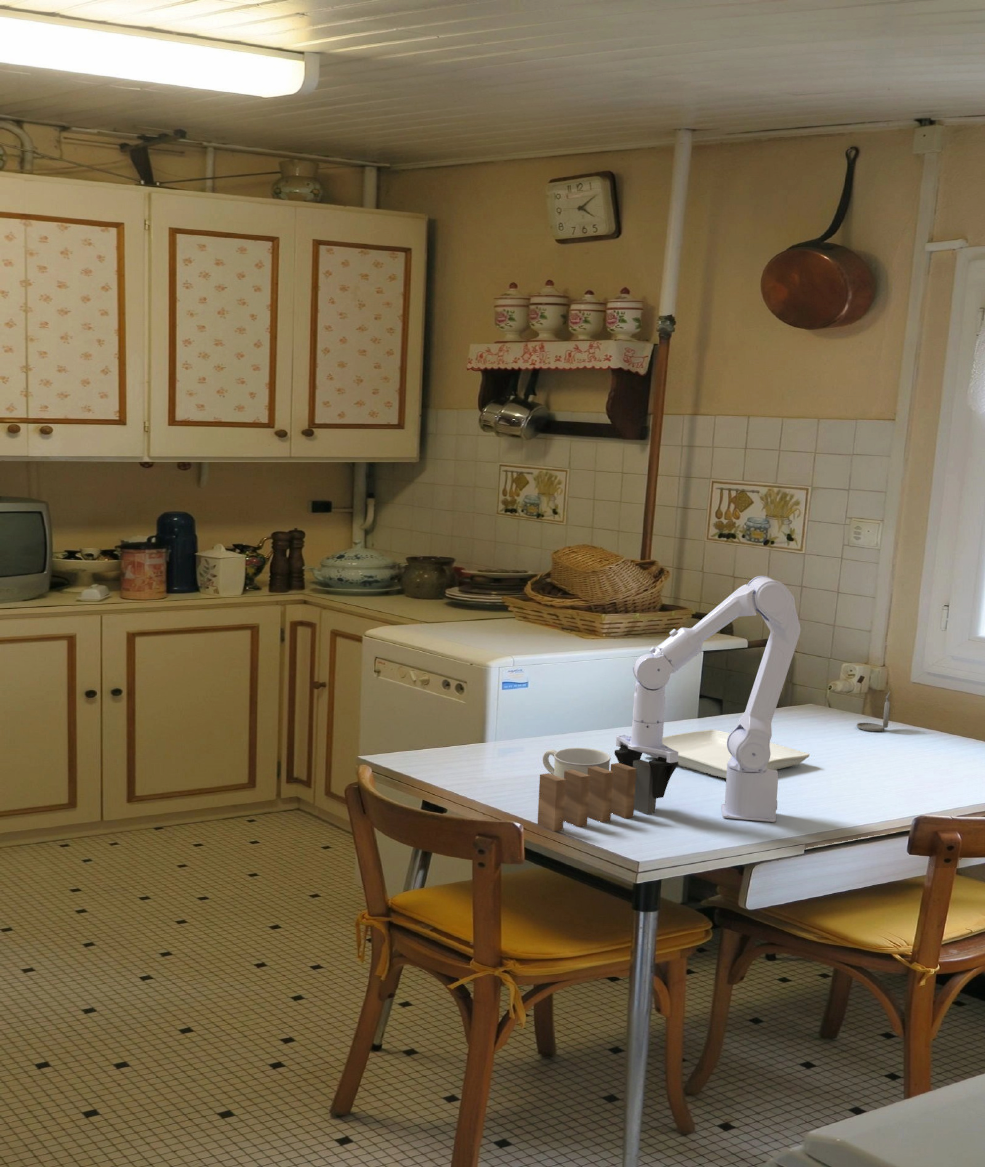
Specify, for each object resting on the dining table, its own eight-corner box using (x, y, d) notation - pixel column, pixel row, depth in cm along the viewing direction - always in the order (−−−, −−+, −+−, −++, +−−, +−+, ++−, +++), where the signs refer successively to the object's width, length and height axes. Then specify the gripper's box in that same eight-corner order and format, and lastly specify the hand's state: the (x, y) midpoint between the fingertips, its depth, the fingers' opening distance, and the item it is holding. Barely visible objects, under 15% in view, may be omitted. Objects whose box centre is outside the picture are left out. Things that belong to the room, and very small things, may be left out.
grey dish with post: (851, 726, 318) (854, 687, 317) (881, 726, 320) (884, 687, 319) (868, 734, 310) (871, 693, 309) (899, 733, 312) (902, 693, 311)
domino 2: (570, 818, 227) (572, 769, 226) (587, 825, 223) (589, 775, 222) (561, 820, 226) (564, 771, 225) (578, 827, 222) (581, 777, 221)
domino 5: (638, 806, 237) (641, 759, 236) (655, 813, 233) (658, 765, 232) (630, 808, 235) (633, 760, 235) (647, 814, 232) (650, 766, 231)
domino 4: (616, 810, 233) (619, 762, 232) (633, 817, 230) (636, 768, 229) (608, 812, 232) (610, 764, 231) (625, 818, 229) (627, 769, 228)
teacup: (619, 797, 243) (622, 756, 242) (582, 806, 235) (584, 764, 235) (566, 781, 253) (568, 741, 252) (528, 789, 245) (530, 749, 244)
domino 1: (546, 823, 224) (548, 773, 223) (562, 830, 220) (565, 779, 219) (537, 824, 222) (539, 774, 222) (553, 831, 219) (556, 780, 218)
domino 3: (593, 814, 230) (596, 766, 229) (610, 821, 226) (613, 772, 226) (585, 816, 229) (587, 767, 228) (602, 822, 225) (604, 773, 224)
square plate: (632, 758, 276) (633, 741, 275) (712, 743, 293) (713, 727, 293) (731, 787, 255) (732, 768, 255) (811, 769, 273) (812, 751, 273)
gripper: (605, 714, 236) (601, 785, 237) (659, 730, 224) (655, 805, 226) (633, 711, 240) (629, 781, 242) (688, 726, 229) (683, 800, 230)
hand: (643, 792), depth 234 cm, fingers open, 7 cm apart
